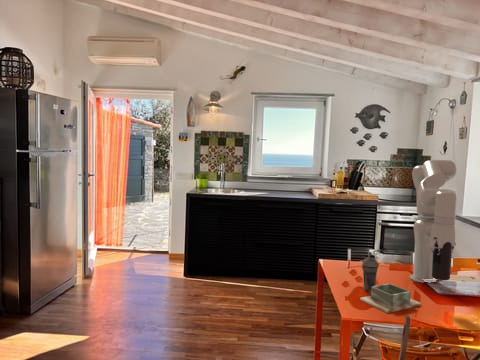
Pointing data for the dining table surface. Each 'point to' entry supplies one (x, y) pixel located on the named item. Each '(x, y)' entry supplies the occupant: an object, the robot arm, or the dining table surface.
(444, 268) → the vinegar
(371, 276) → the beverage cup
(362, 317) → the dining table surface
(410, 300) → the bottle caddy
